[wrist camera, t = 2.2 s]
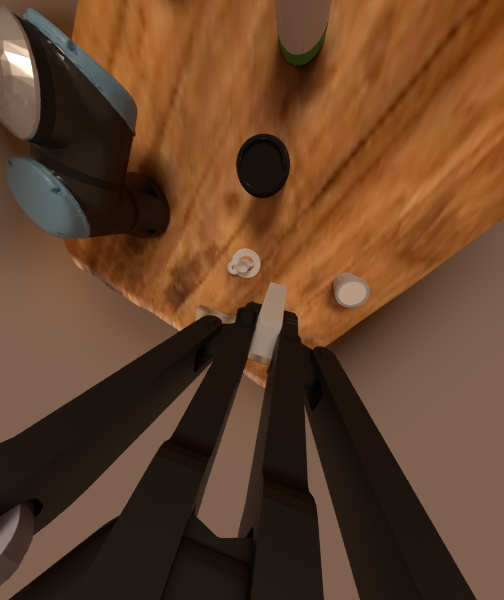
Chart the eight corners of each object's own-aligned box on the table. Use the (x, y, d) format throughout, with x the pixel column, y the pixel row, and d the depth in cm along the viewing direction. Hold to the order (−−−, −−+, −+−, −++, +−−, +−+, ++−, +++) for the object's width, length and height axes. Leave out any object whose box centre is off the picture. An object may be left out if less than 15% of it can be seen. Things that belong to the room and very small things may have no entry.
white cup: (346, 264, 44) (354, 271, 38) (366, 282, 45) (377, 293, 38) (324, 284, 47) (328, 294, 41) (343, 300, 48) (350, 313, 42)
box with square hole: (196, 334, 64) (193, 338, 62) (200, 305, 58) (196, 308, 56) (273, 361, 61) (272, 366, 59) (285, 333, 56) (284, 338, 54)
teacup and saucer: (228, 273, 52) (223, 278, 49) (230, 245, 49) (225, 247, 45) (258, 280, 51) (255, 285, 47) (262, 251, 47) (260, 254, 44)
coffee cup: (286, 206, 42) (281, 201, 28) (250, 199, 43) (230, 191, 29) (296, 161, 38) (296, 131, 25) (257, 154, 39) (237, 123, 26)
